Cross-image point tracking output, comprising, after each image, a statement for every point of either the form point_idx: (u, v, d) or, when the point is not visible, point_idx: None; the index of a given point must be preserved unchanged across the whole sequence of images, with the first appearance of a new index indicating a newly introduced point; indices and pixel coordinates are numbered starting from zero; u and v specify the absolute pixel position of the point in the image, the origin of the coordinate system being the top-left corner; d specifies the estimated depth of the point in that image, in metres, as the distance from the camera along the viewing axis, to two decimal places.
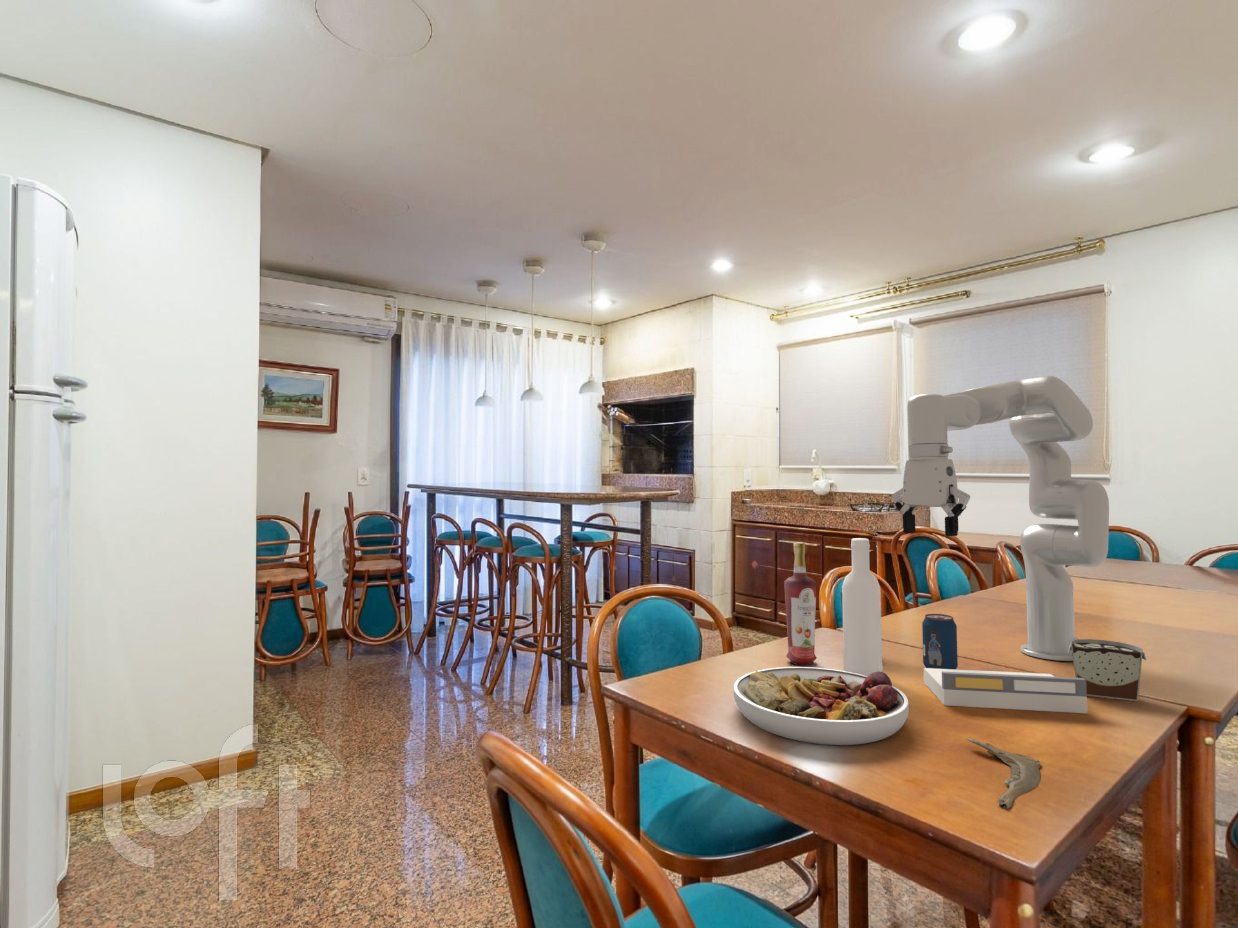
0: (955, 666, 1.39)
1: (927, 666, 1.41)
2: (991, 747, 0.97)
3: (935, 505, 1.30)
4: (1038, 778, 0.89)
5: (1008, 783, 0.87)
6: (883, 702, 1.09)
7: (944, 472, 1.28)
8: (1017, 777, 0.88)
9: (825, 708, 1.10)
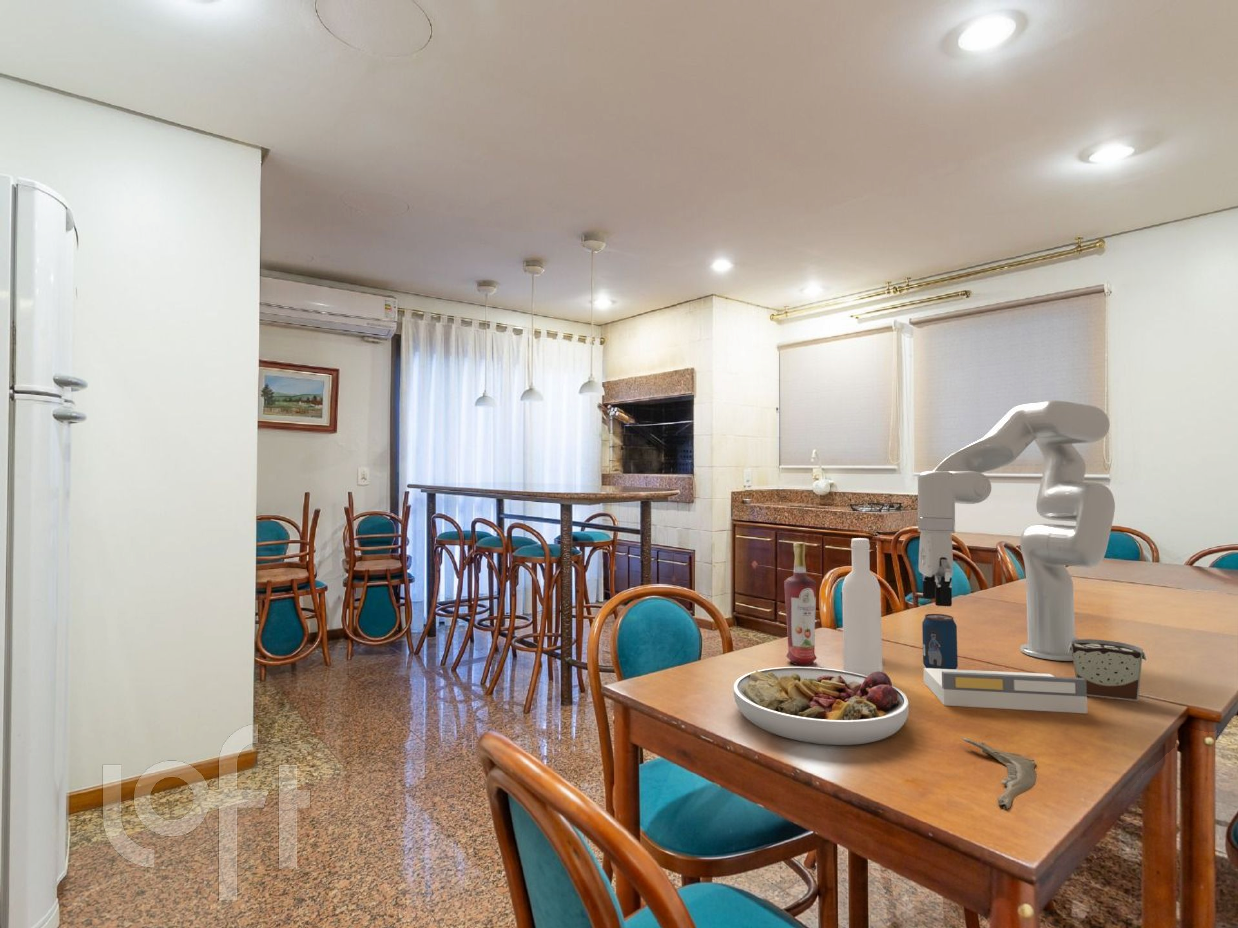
0: (955, 666, 1.39)
1: (927, 666, 1.41)
2: (986, 746, 0.98)
3: None
4: (1034, 777, 0.90)
5: (1006, 783, 0.87)
6: (883, 702, 1.09)
7: None
8: (1014, 777, 0.89)
9: (825, 708, 1.10)
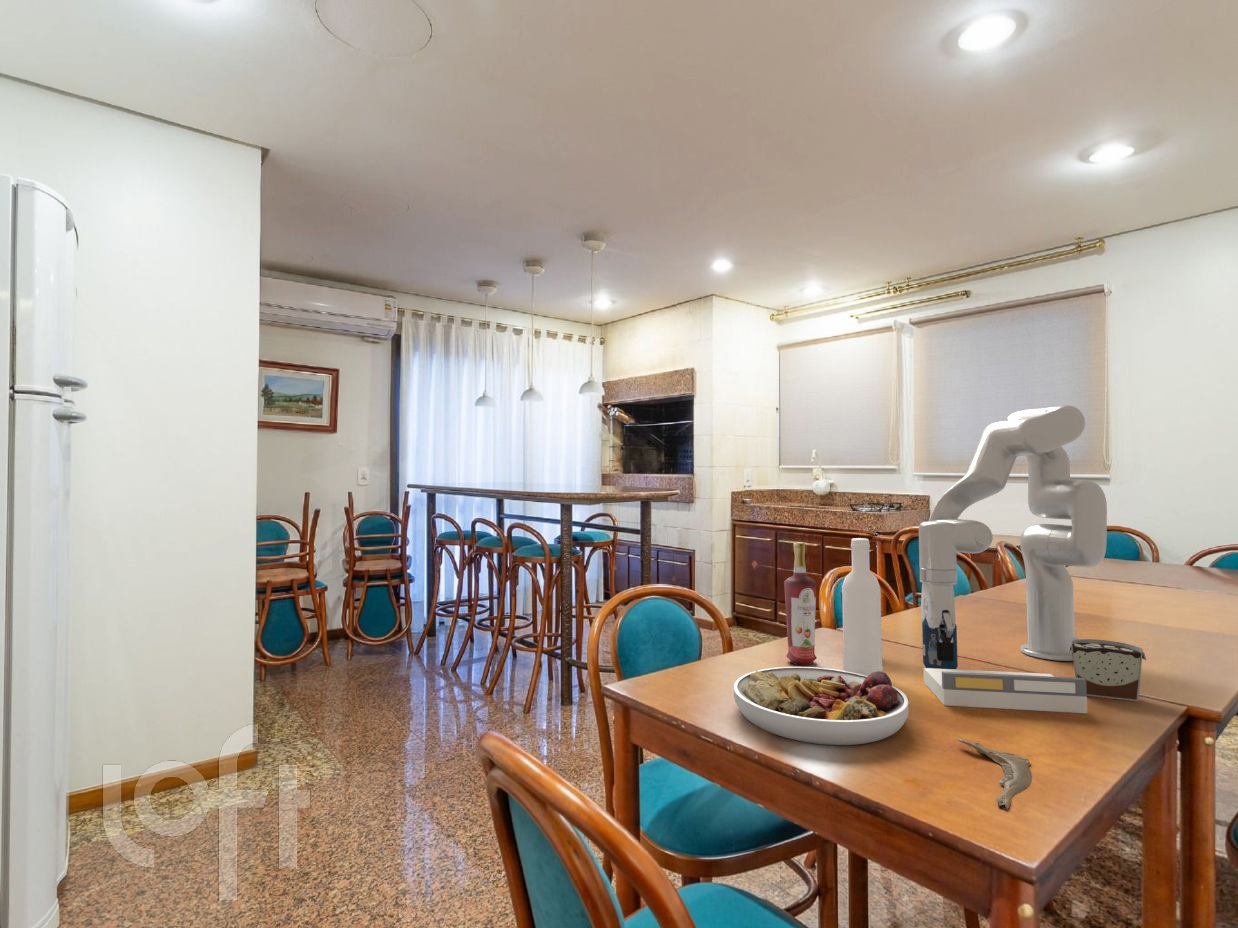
0: (955, 666, 1.39)
1: (927, 666, 1.41)
2: (981, 747, 0.98)
3: None
4: (1030, 777, 0.90)
5: (1003, 783, 0.87)
6: (883, 702, 1.09)
7: None
8: (1011, 776, 0.89)
9: (825, 708, 1.10)
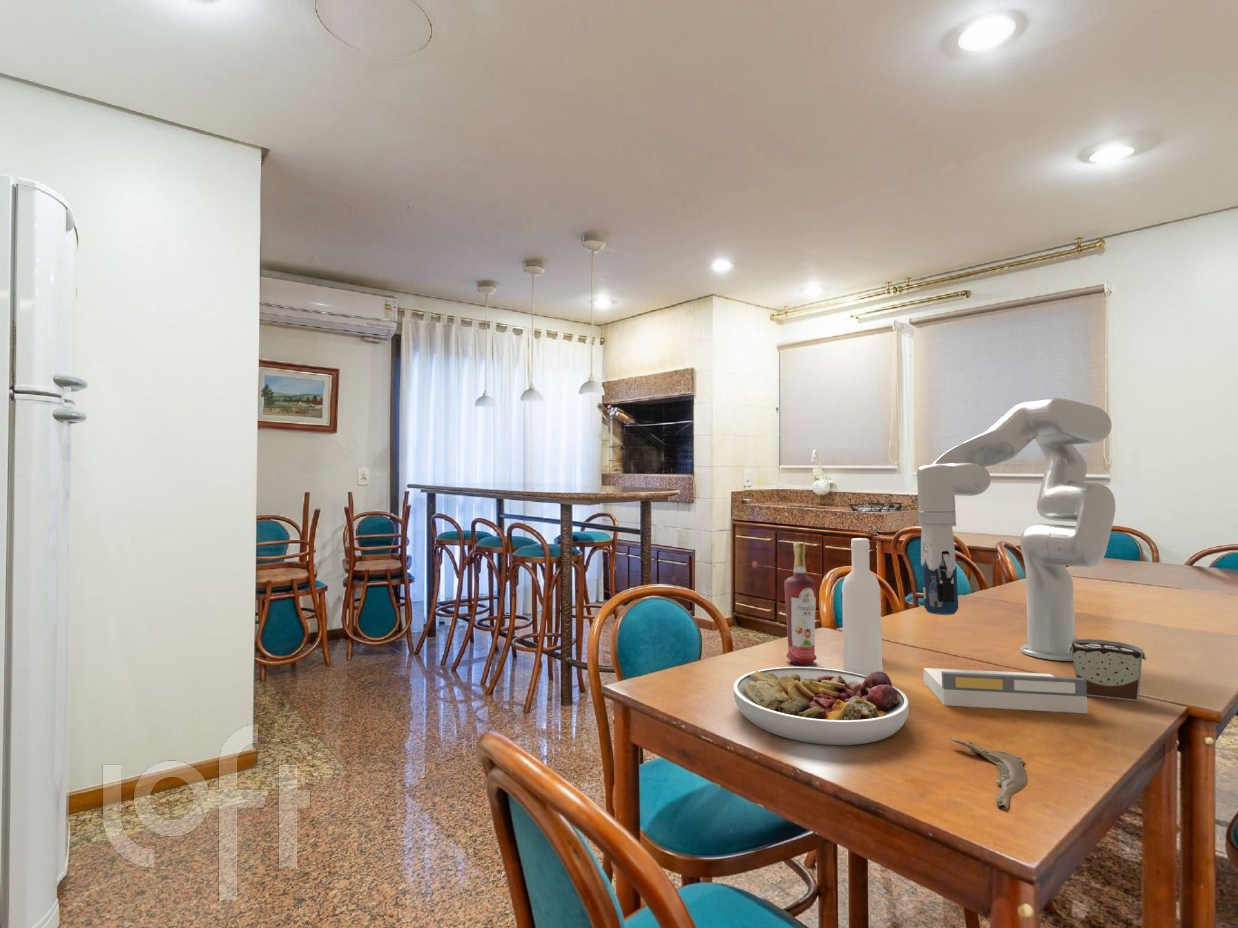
0: (956, 607, 1.39)
1: (928, 609, 1.42)
2: (975, 746, 0.98)
3: None
4: (1025, 775, 0.90)
5: (1000, 782, 0.87)
6: (883, 702, 1.09)
7: None
8: (1007, 776, 0.89)
9: (825, 708, 1.10)
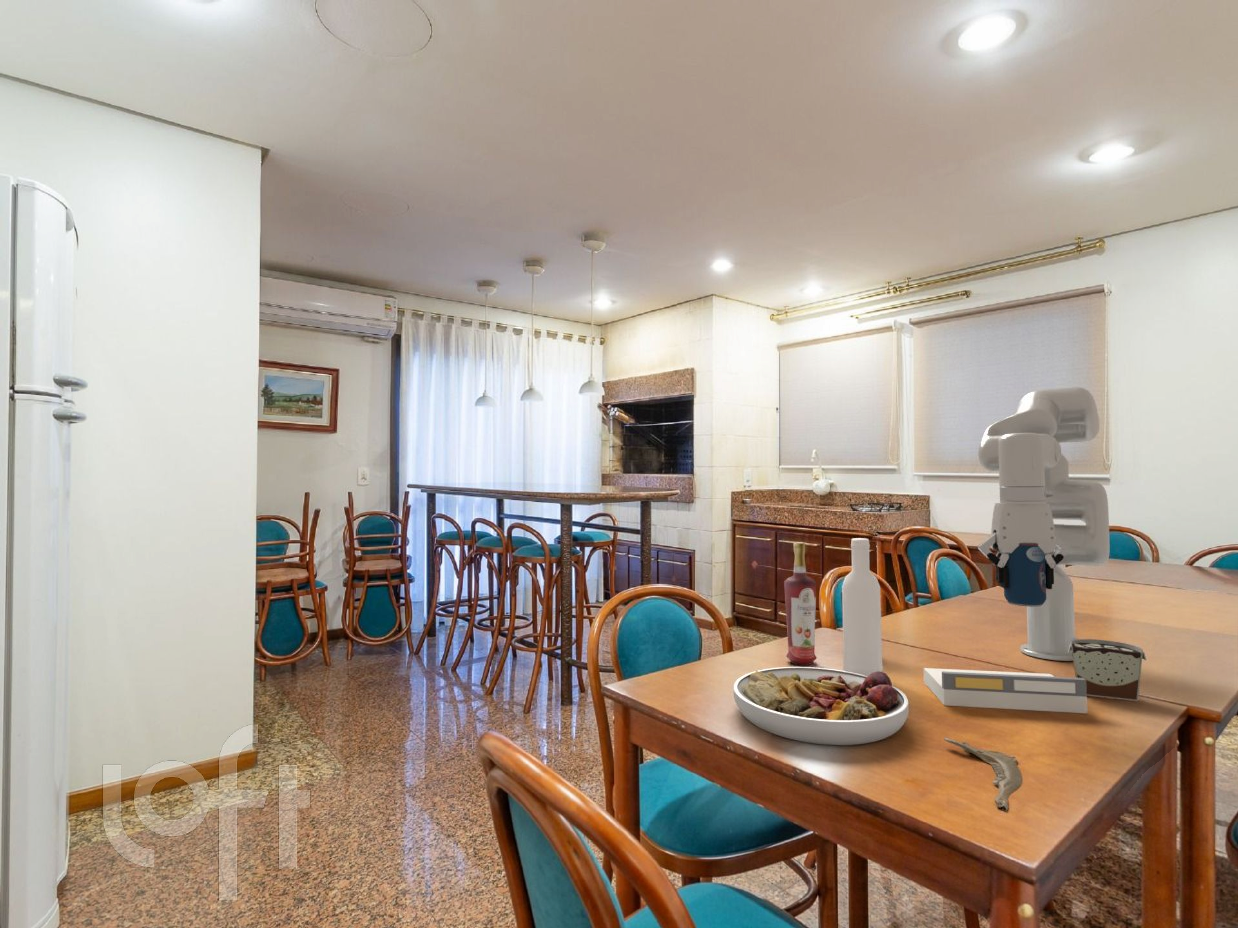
0: (1016, 597, 1.21)
1: None
2: (968, 746, 0.98)
3: None
4: (1020, 775, 0.90)
5: (997, 783, 0.87)
6: (883, 702, 1.09)
7: (1052, 517, 1.21)
8: (1003, 776, 0.89)
9: (825, 708, 1.10)
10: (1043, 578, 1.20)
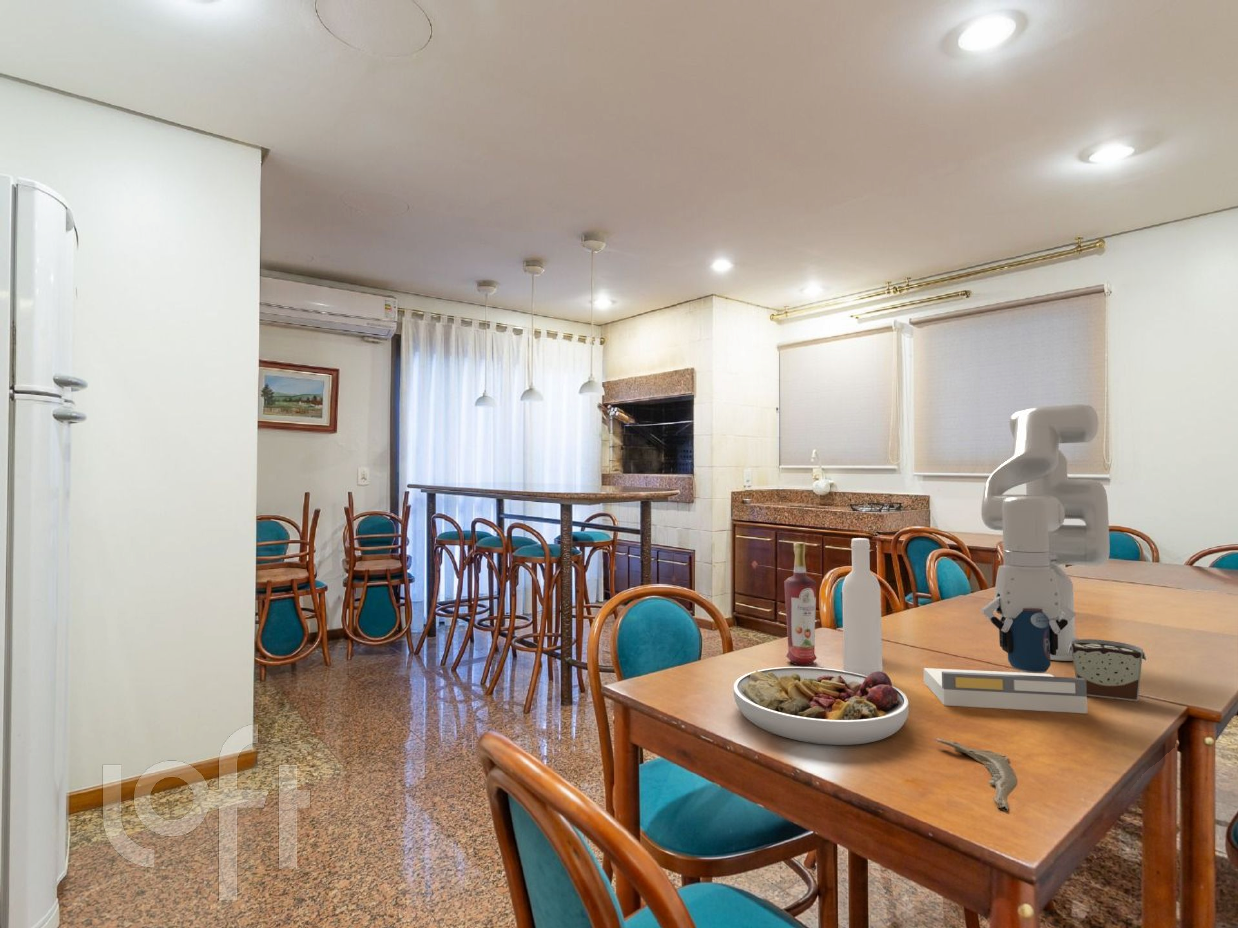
0: (1020, 663, 1.20)
1: None
2: (960, 746, 0.98)
3: None
4: (1014, 774, 0.91)
5: (994, 783, 0.87)
6: (883, 702, 1.09)
7: (1056, 583, 1.20)
8: (999, 776, 0.89)
9: (825, 708, 1.10)
10: (1048, 645, 1.19)
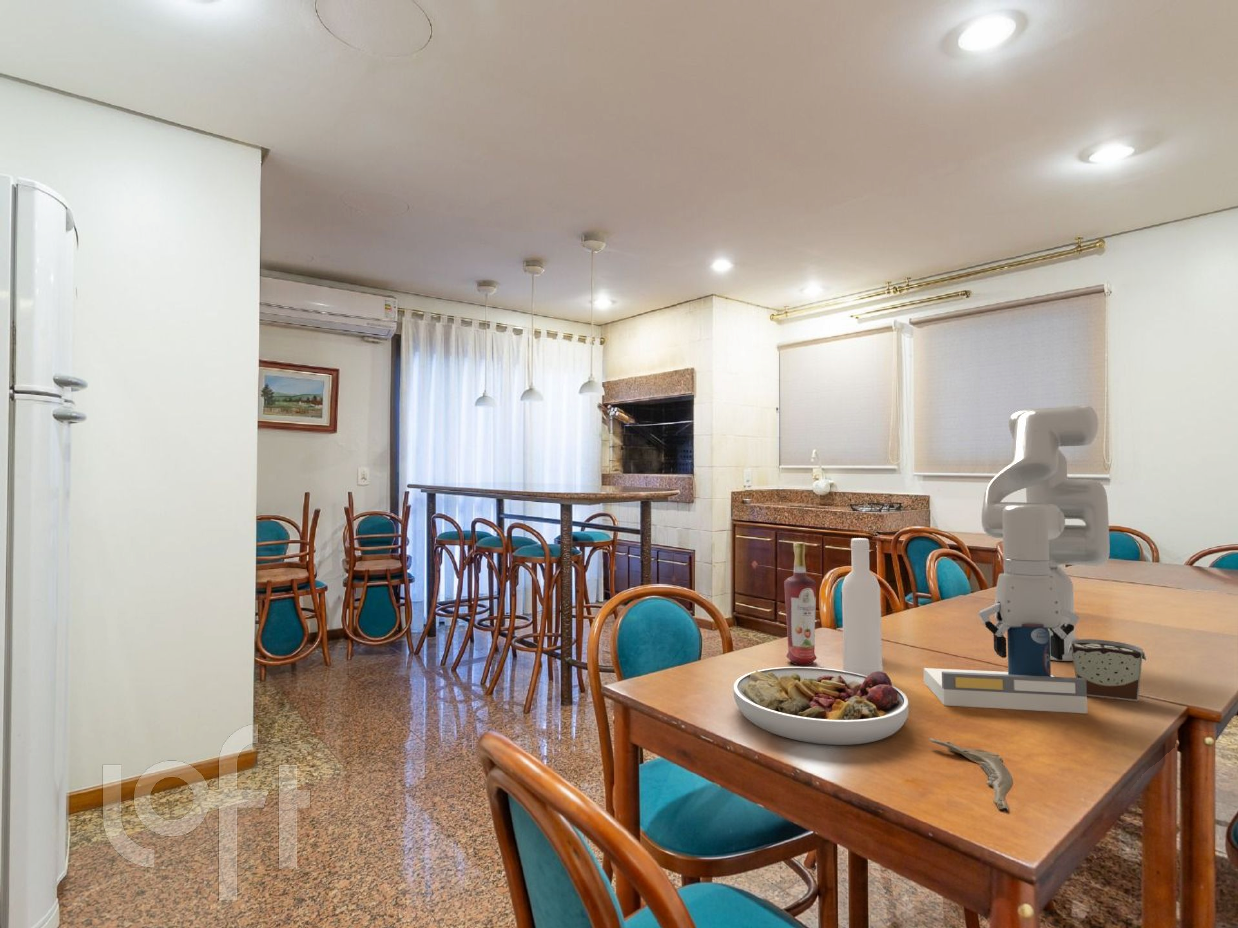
0: None
1: None
2: (954, 746, 0.98)
3: (1048, 627, 1.20)
4: (1009, 773, 0.91)
5: (991, 783, 0.87)
6: (883, 701, 1.09)
7: (1056, 591, 1.20)
8: (995, 776, 0.89)
9: (825, 708, 1.10)
10: (1048, 660, 1.19)
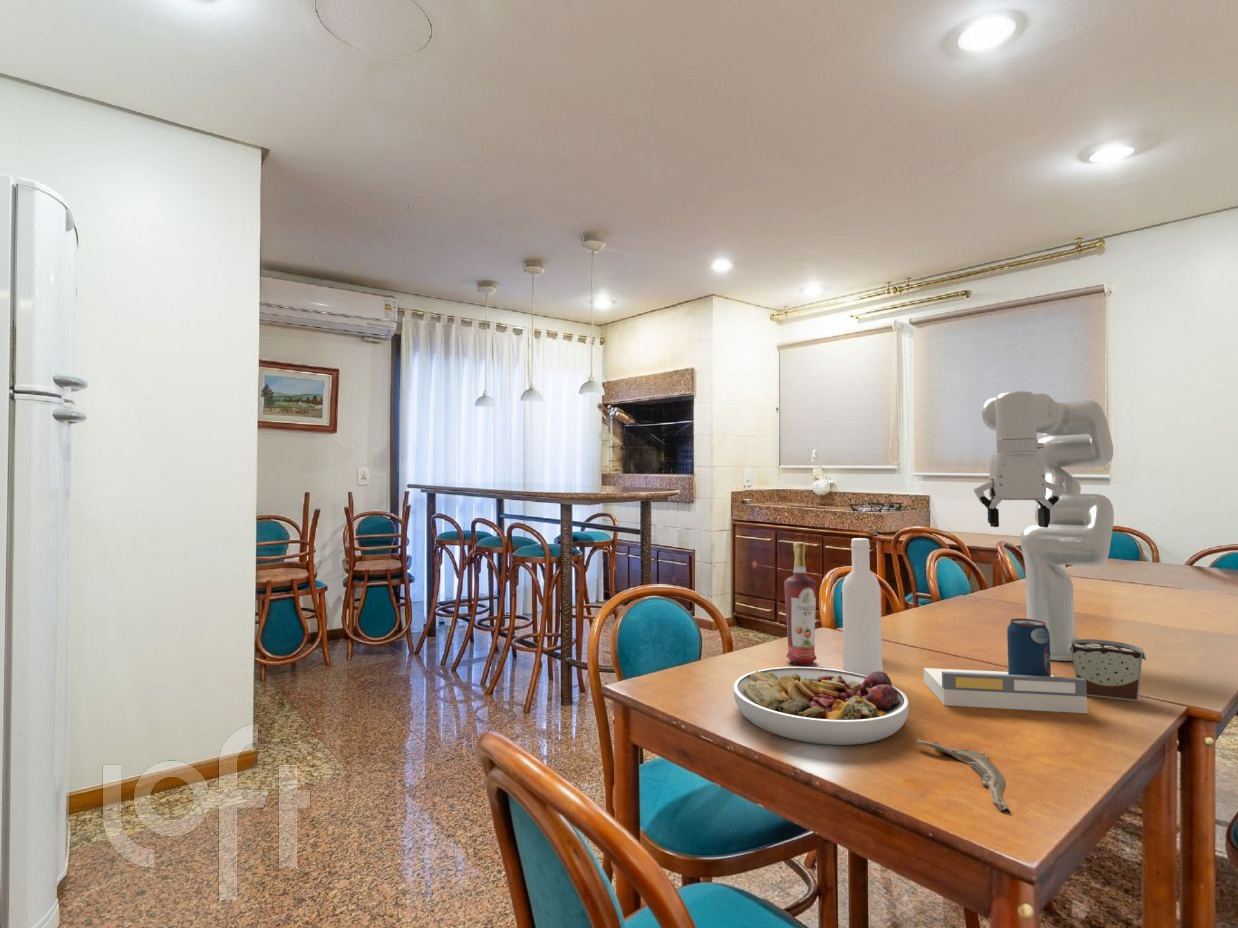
0: None
1: None
2: (942, 746, 0.98)
3: (1035, 498, 1.35)
4: (999, 772, 0.91)
5: (986, 784, 0.87)
6: (883, 701, 1.09)
7: (1043, 467, 1.36)
8: (988, 775, 0.89)
9: (825, 708, 1.10)
10: (1048, 660, 1.19)
